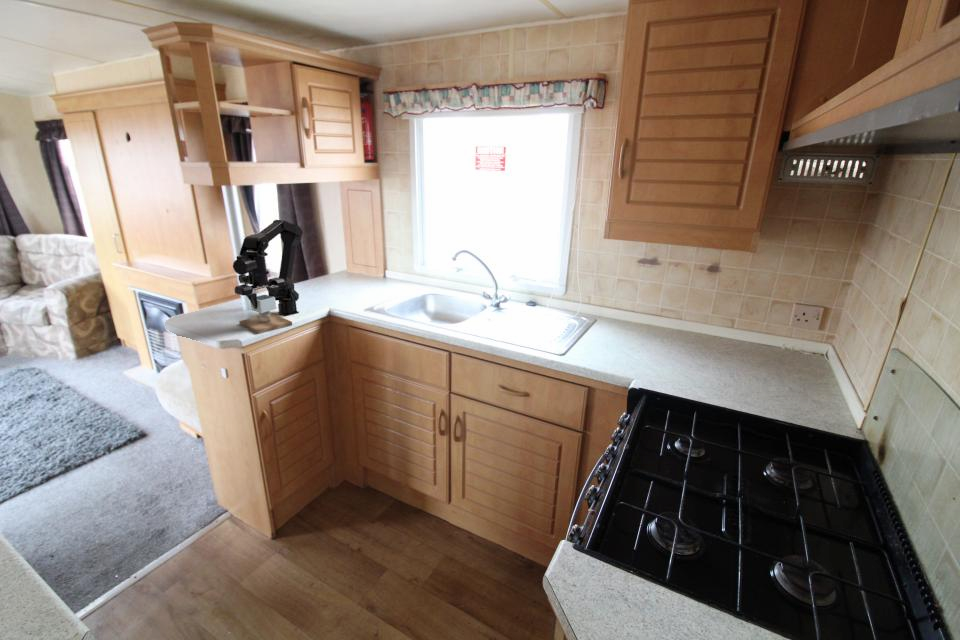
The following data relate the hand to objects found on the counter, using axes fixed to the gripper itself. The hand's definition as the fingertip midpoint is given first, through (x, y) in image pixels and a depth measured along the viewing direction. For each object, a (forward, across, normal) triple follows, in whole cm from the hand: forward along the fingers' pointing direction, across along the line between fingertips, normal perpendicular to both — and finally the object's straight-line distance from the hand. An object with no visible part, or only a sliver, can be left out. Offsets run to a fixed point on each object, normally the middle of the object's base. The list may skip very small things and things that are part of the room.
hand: (263, 306), depth 183 cm
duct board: (+8, 0, 0) cm, 8 cm away
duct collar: (+1, 0, 0) cm, 1 cm away
